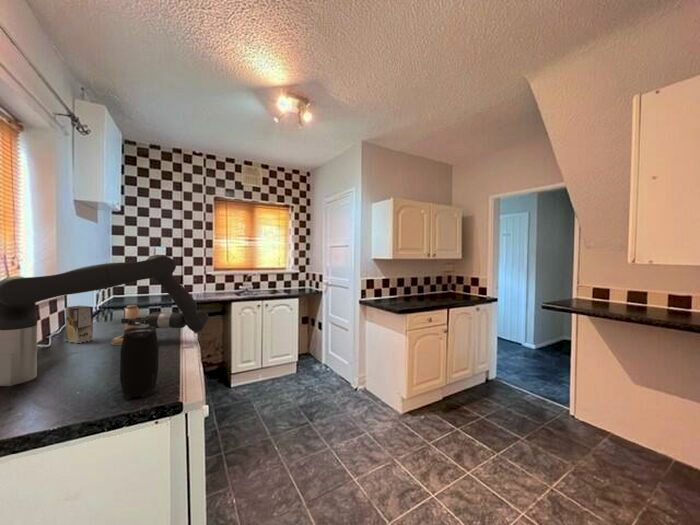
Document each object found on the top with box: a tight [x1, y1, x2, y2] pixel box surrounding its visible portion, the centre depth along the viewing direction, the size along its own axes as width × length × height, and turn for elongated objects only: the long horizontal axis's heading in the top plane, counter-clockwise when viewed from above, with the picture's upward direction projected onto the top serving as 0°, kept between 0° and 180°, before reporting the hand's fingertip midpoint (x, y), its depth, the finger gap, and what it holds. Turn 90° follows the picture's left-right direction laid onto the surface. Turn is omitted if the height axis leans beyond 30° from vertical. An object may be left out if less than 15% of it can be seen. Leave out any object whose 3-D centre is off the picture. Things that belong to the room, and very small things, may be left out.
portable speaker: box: [119, 325, 160, 401], centre depth 91 cm, size 9×9×20 cm
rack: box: [110, 334, 124, 346], centre depth 145 cm, size 12×10×2 cm
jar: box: [124, 304, 140, 330], centre depth 144 cm, size 5×5×15 cm
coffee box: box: [64, 305, 94, 344], centre depth 142 cm, size 9×6×16 cm
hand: (126, 319), depth 144 cm, fingers closed on jar, 5 cm apart
